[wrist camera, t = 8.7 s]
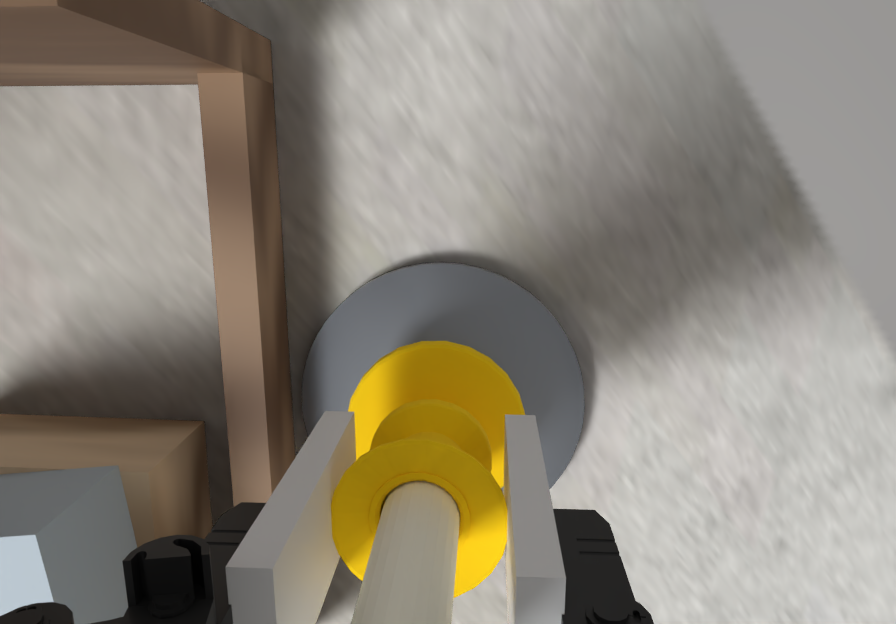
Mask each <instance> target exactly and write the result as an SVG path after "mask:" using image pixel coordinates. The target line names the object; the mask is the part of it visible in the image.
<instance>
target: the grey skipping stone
mask: <svg viewBox="0 0 896 624" xmlns="http://www.w3.org/2000/svg"><path fill="white" fill-rule="evenodd" d="M420 341H449V342H453V343H457V344H461V345H465V346H469V347H471V348H473V349H475V350H476V351H478V352H480V353H482V354H484V355H486V356H488V357H489V358H491V359H492V360H493V361H494V362H495V363H496V364H497V365H498V366H499V367H500V368H502V369H503V370H504V371H505V372H506V373H507V374H508V376H509V378H510V379H511V381H512V382H513V384H514V386H515V387H516V389H517V390H518V392H519V394H520V398H521V401H522V405H523V408H524V412H525V415H535V417H536V422H537V427H538V433H539V438H540V443H541V449H542V454H543V459H544V464H545V470H546V475H547V480H548V486H549V489H550V488H551V487H552V486H553V485H554V484H555V482H556V481H557V480H558V479H559V477H560V476H561V475H562V474H563V472H564V470H565V468H566V467H567V465H568V463H569V462H570V460H571V458H572V456H573V453H574V451H575V449H576V446H577V444H578V441H579V437H580V433H581V429H582V426H583V417H584V409H585V405H584V386H583V380H582V374H581V370H580V367H579V364H578V360H577V357H576V354H575V352H574V350H573V348H572V346H571V344H570V342H569V339H568V337H567V335H566V333H565V332H564V330H563V329H562V327H561V326H560V324H559V322H558V321H557V319H556V318H555V317H554V316H553V315H552V313H551V312H550V311H549V310H548V309H547V308H546V306H545V305H544V304H543V303H542V302H540V301H539V300H538V299H537V298H536V297H535V296H534V295H533V294H531V293H530V292H529V291H527V290H526V289H525V288H523V287H522V286H520V285H519V284H517V283H516V282H514V281H512V280H510V279H508V278H506V277H504V276H502V275H500V274H498V273H495V272H492V271H489V270H487V269H484V268H481V267H477V266H472V265H467V264H462V263H450V262H432V263H421V264H416V265H410V266H405V267H402V268H399V269H396V270H393V271H390V272H387V273H385V274H383V275H381V276H379V277H377V278H375V279H373V280H371V281H369V282H368V283H366V284H365V285H363V286H362V287H360V288H359V289H357V290H356V291H355V292H353V293H352V294H351V295H350V296H349V297H348V298H347V299H346V300H344V301H343V302H342V303H341V304H340V305H339V306H338V307H337V308H336V310H335V311H334V312H333V313H332V314H331V315H330V317H329V318H328V319H327V320H326V322H325V323H324V325H323V326H322V328H321V329H320V331H319V333H318V334H317V336H316V338H315V340H314V342H313V345H312V347H311V349H310V351H309V354H308V358H307V361H306V365H305V368H304V374H303V381H302V410H303V418H304V423H305V427H306V430H307V434H308V437H309V435H310V434H311V432H312V431H313V429H314V428H315V426H316V424H317V423H318V421H319V420H320V418H321V417H322V415H323V413H324V412H325V411H347V412H348V409H349V404H350V399H351V397H352V395H353V394H354V392H355V390H356V388H357V386H358V384H359V382H360V381H361V379H362V377H363V375H364V374H365V373H366V372H367V371H368V370H369V369H370V368H371V367H372V366H373V365H374V364H375V363H376V362H377V361H378V360H379V359H380V358H382V357H383V356H385V355H387V354H388V353H390V352H392V351H394V350H395V349H397V348H399V347H402V346H406V345H409V344H413V343H417V342H420ZM501 489H502V492H503V489H504V486H503V487H502V488H501Z"/></svg>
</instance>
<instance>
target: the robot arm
mask: <svg viewBox="0 0 896 624" xmlns="http://www.w3.org/2000/svg"><path fill="white" fill-rule="evenodd" d="M355 461H356V442H355V415H354V412H347V411H325V412H324V413H323V415H322V417H321V418H320V420H319V421H318V423H317V424H316V426H315V428H314V429H313V431H312V432H311V434H310V435H309V437H308V438H307V440H306V442H305V443H304V445H303V446H302V448H301V449H300V451H299V453H298V454H297V456H296V457H295V459H294V460H293V462H292V464H291V465H290V467H289V468H288V470H287V471H286V473H285V474H284V476H283V478H282V479H281V481H280V482H279V484H278V485H277V487H276V489H275V490H274V492H273V493H272V495H271V496H270V498H269V500H268V501H267V503H253V502H241V503H239V504H238V505H236V506H235V507H233V508H232V509H230V510H229V511H227V512H226V513H224V514H223V515H222V516H221V517H220V518H219V520H218V521H217V523H216V524H215V525H214V527H213V528H212V529H211V532H209V533H208V535H207V536H206V537H205V539H202V538H199V537H196V536H193V535H172V536H167V537H161V538H158V539H155V540H152V541H150V542H147V543H144V544H143V545H141V546H139V547H138V548H136V549H134V550H133V551H131V552H130V553H129V554H128V555H127V557H126V558H125V559H124V560H123V561H122V563H123V570H124V578H125V586H126V593H127V601H128V608H127V610H126V612H125V614H124V616H123V617H119V618H115V619H111V620H106V621H101V622H95V623H90V624H316V622H317V619H318V616H319V614H320V611H321V608H322V606H323V603H324V600H325V597H326V595H327V592H328V589H329V586H330V584H331V581H332V578H333V575H334V573H335V570H336V567H337V565H338V562H339V559H340V555H339V554H338V551H337V549H336V546H335V543H334V541H333V538H332V520H331V503H332V498H333V494H334V490H335V489H336V487H337V485H338V483H339V481H340V479H341V478H342V476H343V474H344V472H345V471H346V470H347V469H348V468H349V467H350V466H351V465H352V464H353V463H354V462H355ZM503 495H504V498H505V501H506V505H507V509H508V513H507V543H506V546H505V566H506V588H507V609H508V624H654V623H653V620H652V617H651V614H650V613H649V612H648V611H647V610H646V609H645V608H644V607H643V606H642V605H641V604H640V603H638V602H636V601H635V598H634V595H633V592H632V589H631V586H630V584H629V581H628V578H627V575H626V572H625V569H624V566H623V563H622V560H621V557H620V556H619V551H618V548H617V545H616V543H615V539H614V536H613V533H612V530H611V527H610V524H609V523H608V522H607V521H606V520H605V519H604V518H603V517H602V516H601V515H599V514H598V513H597V512H596V511H595V510H576V509H553V507H552V501H551V496H550V491H549V486H548V480H547V475H546V470H545V464H544V459H543V454H542V449H541V443H540V438H539V433H538V427H537V422H536V417H535V415H505V435H504V489H503ZM0 624H74V618H73V612H72V611H71V610H70V609H69V608H68V607H67V606H66V605H64V604H60V603H56V602H45V603H35V604H29V605H27V606H26V605H25V606H22V607H19V608H17V609H15V610H13V611H10V612H8V613H6V614H4V615H2V616H0Z"/></svg>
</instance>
